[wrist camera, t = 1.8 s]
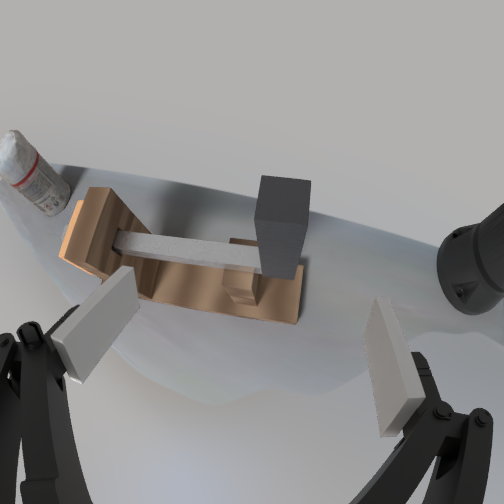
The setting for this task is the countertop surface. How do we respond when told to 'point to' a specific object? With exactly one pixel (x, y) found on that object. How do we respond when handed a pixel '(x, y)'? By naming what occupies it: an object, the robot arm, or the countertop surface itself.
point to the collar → (69, 232)
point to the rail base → (176, 268)
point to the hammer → (233, 255)
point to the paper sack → (32, 174)
